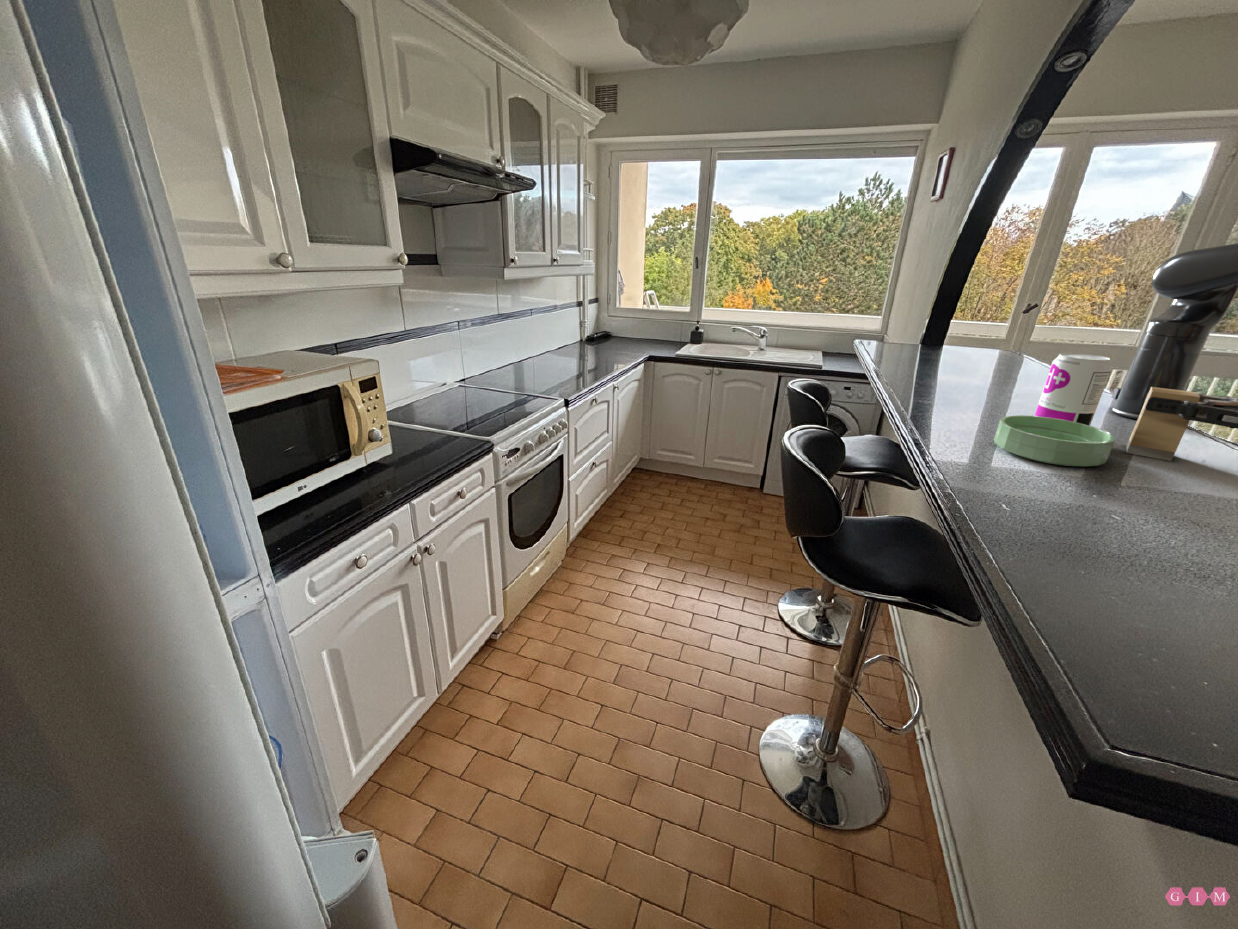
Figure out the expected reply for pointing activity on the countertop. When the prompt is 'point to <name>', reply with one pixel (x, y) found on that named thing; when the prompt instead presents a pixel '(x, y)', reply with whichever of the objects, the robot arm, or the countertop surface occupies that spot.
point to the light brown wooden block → (1159, 427)
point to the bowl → (1054, 440)
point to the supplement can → (1074, 387)
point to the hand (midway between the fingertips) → (1147, 400)
